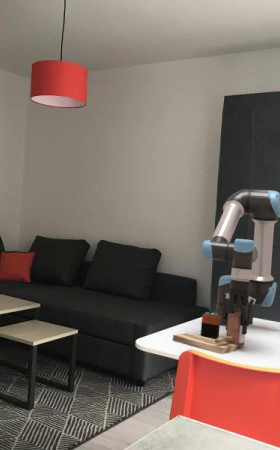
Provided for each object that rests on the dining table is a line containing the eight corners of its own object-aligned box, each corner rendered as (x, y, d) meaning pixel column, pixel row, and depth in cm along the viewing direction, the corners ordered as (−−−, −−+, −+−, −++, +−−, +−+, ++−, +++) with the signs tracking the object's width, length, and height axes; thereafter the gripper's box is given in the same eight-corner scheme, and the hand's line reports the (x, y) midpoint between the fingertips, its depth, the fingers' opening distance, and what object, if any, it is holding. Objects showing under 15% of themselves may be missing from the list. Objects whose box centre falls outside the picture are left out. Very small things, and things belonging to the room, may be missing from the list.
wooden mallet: (233, 343, 198) (236, 312, 198) (243, 345, 195) (246, 314, 195) (210, 348, 186) (213, 315, 185) (221, 351, 183) (224, 317, 183)
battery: (216, 339, 206) (218, 314, 206) (200, 336, 208) (202, 312, 208) (218, 337, 210) (221, 313, 210) (202, 334, 212) (205, 310, 212)
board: (187, 337, 203) (188, 332, 203) (236, 350, 189) (236, 344, 189) (172, 340, 196) (173, 334, 196) (221, 353, 181) (222, 348, 181)
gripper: (215, 276, 197) (210, 337, 197) (256, 283, 185) (250, 347, 185) (226, 276, 202) (220, 335, 202) (266, 282, 191) (260, 345, 191)
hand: (235, 340), depth 194 cm, fingers closed on wooden mallet, 4 cm apart
